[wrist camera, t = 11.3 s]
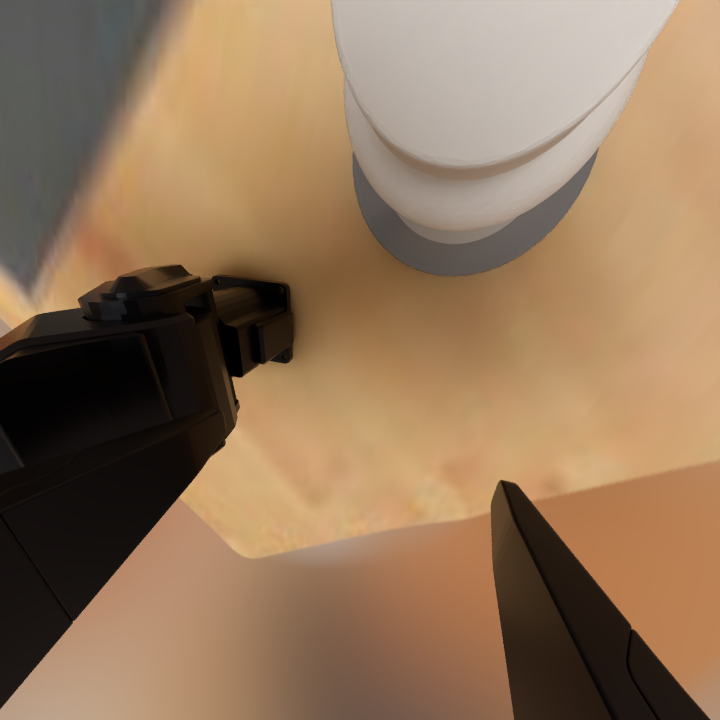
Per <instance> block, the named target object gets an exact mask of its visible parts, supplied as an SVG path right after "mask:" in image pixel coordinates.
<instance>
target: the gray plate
mask: <svg viewBox="0 0 720 720" xmlns="http://www.w3.org/2000/svg"><path fill="white" fill-rule="evenodd" d="M597 152H598V149H597V150H596V152H595V153H594V154H593V155H592V157H591V158H590V159H589V160H588V161H587V162H586V163H585V164H584V165H583V167H582V168H581V169H580V170H579V171H578V172H577V173H576V174H575V175H574V176H573V177H572V178H571V179H570V180H569V181H568V182H567V183H566V184H564V185H563V186H562V187H561V188H560V189H559V190H557V191H556V192H555V193H554V194H552V195H551V196H550V197H548V198H547V199H546V200H544V201H543V202H541V203H540V204H538V205H537V206H535V207H533V208H532V209H530V210H529V211H527V212H525V213H523V214H521V215H519V216H517V217H515V218H512V219H510V220H508V221H505V222H502V223H499V224H496V225H493V226H489V227H485V228H481V229H477V230H471V231H459V232H458V231H444V230H438V229H433V228H429V227H426V226H423V225H420V224H417V223H415V222H413V221H411V220H409V219H407V218H405V217H404V216H402V215H400V214H399V213H398V212H396V211H395V210H393V209H392V208H391V207H390V206H389V205H388V204H387V203H386V202H385V201H384V200H383V199H382V198H381V197H380V196H379V195H378V194H377V193H376V192H375V190H374V189H373V188H372V186H371V185H370V183H369V182H368V180H367V179H366V177H365V175H364V173H363V171H362V169H361V167H360V165H359V163H358V161H357V158H356V156H355V153H354V151H353V177H354V185H355V191H356V195H357V199H358V203H359V206H360V209H361V211H362V214H363V217H364V219H365V221H366V223H367V225H368V227H369V228H370V230H371V231H372V233H373V234H374V236H375V237H376V239H377V240H378V241H379V242H380V244H381V245H382V246H383V247H384V248H385V249H386V250H387V251H388V252H389V253H390V254H392V255H393V256H394V257H395V258H397V259H398V260H400V261H401V262H403V263H404V264H406V265H408V266H410V267H412V268H414V269H417V270H419V271H423V272H426V273H429V274H435V275H441V276H464V275H472V274H477V273H481V272H485V271H488V270H491V269H494V268H497V267H499V266H501V265H503V264H506V263H508V262H510V261H512V260H514V259H515V258H517V257H519V256H520V255H522V254H523V253H525V252H527V251H528V250H529V249H531V248H532V247H533V246H534V245H536V244H537V243H538V242H540V241H541V240H542V239H543V238H544V237H545V236H546V235H547V234H548V233H549V232H550V231H551V230H552V229H553V228H554V227H555V226H556V225H557V224H558V223H559V221H560V220H561V219H562V218H563V217H564V215H565V214H566V213H567V212H568V210H569V209H570V207H571V206H572V204H573V203H574V201H575V200H576V199H577V197H578V195H579V194H580V192H581V190H582V188H583V186H584V184H585V182H586V180H587V179H588V176H589V174H590V171H591V169H592V166H593V164H594V161H595V159H596V156H597Z"/></svg>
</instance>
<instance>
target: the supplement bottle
mask: <svg viewBox="0 0 720 720" xmlns="http://www.w3.org/2000/svg"><path fill="white" fill-rule="evenodd" d="M679 1H680V0H331V7H332V20H333V27H334V33H335V41H336V45H337V50H338V54H339V59H340V62H341V65H342V68H343V71H344V107H345V115H346V122H347V127H348V133H349V137H350V140H351V144H352V147H353V151H354V153H355V156H356V158H357V161H358V163H359V165H360V167H361V169H362V171H363V173H364V175H365V177H366V179H367V180H368V182H369V183H370V185H371V186H372V188H373V189H374V190H375V192H376V193H377V194H378V195H379V196H380V197H381V198H382V199H383V200H384V201H385V202H386V203H387V204H388V205H389V206H390V207H391V208H392V209H393V210H395V211H396V212H398V213H399V214H400V215H402V216H404V217H405V218H407V219H409V220H411V221H413V222H415V223H417V224H420V225H423V226H426V227H429V228H433V229H438V230H444V231H458V232H459V231H471V230H477V229H481V228H485V227H489V226H493V225H496V224H499V223H502V222H505V221H508V220H510V219H512V218H515V217H517V216H519V215H521V214H523V213H525V212H527V211H529V210H530V209H532V208H533V207H535V206H537V205H538V204H540V203H541V202H543V201H544V200H546V199H547V198H548V197H550V196H551V195H552V194H554V193H555V192H556V191H557V190H559V189H560V188H561V187H562V186H563V185H564V184H566V183H567V182H568V181H569V180H570V179H571V178H572V177H573V176H574V175H575V174H576V173H577V172H578V171H579V170H580V169H581V168H582V167H583V165H584V164H585V163H586V162H587V161H588V160H589V159H590V158H591V157H592V155H593V154H594V153H595V152H596V150H597V149H598V148H599V146H600V145H601V144H602V142H603V141H604V140H605V138H606V137H607V135H608V134H609V132H610V131H611V129H612V128H613V126H614V124H615V123H616V121H617V120H618V118H619V117H620V115H621V113H622V112H623V110H624V108H625V106H626V104H627V102H628V100H629V98H630V96H631V94H632V93H633V91H634V88H635V86H636V83H637V81H638V79H639V76H640V74H641V71H642V69H643V66H644V63H645V60H646V57H647V54H648V51H649V48H650V46H651V45H652V44H653V42H654V41H655V39H656V38H657V36H658V35H659V34H660V32H661V31H662V29H663V28H664V26H665V25H666V23H667V21H668V20H669V18H670V16H671V15H672V13H673V11H674V9H675V8H676V6H677V4H678V3H679Z"/></svg>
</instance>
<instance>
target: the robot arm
mask: <svg viewBox="0 0 720 720" xmlns="http://www.w3.org/2000/svg"><path fill="white" fill-rule="evenodd" d="M218 280H219V281H220V284H219V282H218ZM281 287H282V288H283V290H284V292H281V290H280V288H281ZM212 289H213V291H212ZM78 302H79V304H80V307H81V308H76V309H69V310H63V311H56V312H49V313H43V314H39V315H35V316H33V317H31V318H30V319H28V320H27V321H25V322H24V323H22V324H21V325H19V326H18V327H16V328H15V329H13V330H12V331H10V332H9V333H7V334H6V335H4V336H3V337H1V338H0V709H1V708H2V706H3V705H4V704H5V703H6V702H7V701H8V699H9V698H10V697H11V696H12V695H13V693H14V692H15V691H16V690H17V689H18V687H19V686H20V685H21V684H22V683H23V682H24V680H25V679H26V678H27V677H28V676H29V674H30V673H31V672H32V671H33V670H34V668H35V667H36V666H37V665H38V664H39V663H40V661H41V660H42V659H43V658H44V657H45V655H46V654H47V653H48V652H49V651H50V649H51V648H52V647H53V646H54V645H55V644H56V642H57V641H58V640H59V639H60V638H61V636H62V635H63V634H64V633H65V632H66V631H67V629H68V628H69V627H70V626H71V624H72V623H73V621H74V620H75V619H76V618H77V617H78V616H79V615H80V614H81V612H82V611H83V610H84V609H85V608H86V606H87V605H88V604H89V603H90V602H91V601H92V599H93V598H94V597H95V596H96V595H97V593H98V592H99V591H100V590H101V589H102V587H103V586H104V585H105V584H106V583H107V582H108V580H109V579H110V578H111V577H112V576H113V574H114V573H115V572H116V571H117V569H119V567H120V566H121V565H122V564H123V563H124V561H125V560H126V559H127V558H128V557H129V555H130V554H131V553H132V552H133V551H134V549H135V548H136V547H137V545H139V543H140V542H141V541H142V540H143V539H144V538H145V537H146V535H147V534H148V533H149V532H150V531H151V529H152V528H153V527H154V526H155V525H156V523H157V522H158V521H159V520H160V519H161V518H162V516H163V515H164V514H165V513H166V512H167V510H168V509H169V508H170V507H171V505H172V504H173V503H174V502H175V501H176V500H177V499H178V497H179V496H180V495H181V494H182V493H183V491H184V490H185V489H186V488H187V487H188V486H189V484H190V483H191V482H192V481H193V480H194V478H195V477H196V476H197V475H198V473H199V472H200V471H201V469H202V468H203V466H204V465H205V464H206V462H207V461H208V459H209V458H210V457H211V456H213V455H214V454H215V453H217V452H218V451H219V450H221V449H222V448H223V447H224V446H225V444H226V441H225V439H226V438H227V437H228V435H229V434H230V433H231V432H232V430H233V429H234V428H235V425H236V421H237V412H238V410H239V408H240V406H239V401H238V400H237V399H236V395H235V390H234V386H233V381H232V378H233V377H234V376H235V377H243V376H244V375H246V374H247V373H248V372H250V371H251V370H253V369H254V368H256V367H257V366H258V365H260V364H265V363H267V362H268V361H274V362H279V363H288V362H290V361H291V360H292V344H293V325H292V313H291V311H290V292H289V287H288V285H287V284H286V283H282V282H274V281H266V280H258V279H250V278H242V277H234V276H225V275H216V276H213V277H212V279H211V278H200V276H192V274H189V273H188V272H187V271H186V270H185V269H184V268H183V267H182V266H181V265H165V266H157V267H149V268H143V269H139V270H136V271H133V272H130V273H127V274H124V275H121V276H119V277H118V278H117V279H116V280H115V281H108V282H105V283H103V284H101V285H100V286H98V287H96V288H95V289H93V290H91V291H90V292H88V293H86V294H85V295H83V296H81V297H80V298H79V299H78ZM284 355H285V356H286V357H287V359H286V358H285V357H284ZM491 528H492V529H491V532H492V559H493V560H492V561H493V572H494V580H495V587H496V594H497V601H498V608H499V615H500V622H501V629H502V636H503V644H504V651H505V658H506V665H507V672H508V678H509V686H510V693H511V700H512V707H513V714H514V720H710V719H709V718H708V716H707V715H706V714H705V713H704V712H703V711H702V709H701V708H700V707H699V706H698V705H697V704H696V703H695V701H694V700H693V699H692V698H691V697H690V696H689V695H688V694H687V692H686V691H685V690H684V689H683V688H682V686H681V685H680V684H679V683H678V682H677V681H676V679H675V678H674V677H673V676H672V674H671V673H670V672H669V671H668V670H667V668H666V667H665V666H664V665H663V664H662V662H661V661H660V660H659V659H658V658H657V656H656V655H655V654H654V653H653V652H652V650H651V649H650V648H649V647H648V645H647V644H646V643H645V642H644V640H643V639H642V638H641V637H640V635H639V634H638V633H637V632H636V631H635V630H634V629H631V625H630V624H629V622H628V621H627V620H626V618H625V617H624V616H623V615H622V613H621V612H620V611H619V610H618V608H617V607H616V606H615V605H614V604H613V602H612V601H611V600H610V599H609V597H608V596H607V595H606V594H605V592H604V591H603V590H602V589H601V587H600V586H599V585H598V584H597V583H596V581H595V580H594V579H593V578H592V576H591V575H590V574H589V573H588V571H587V570H586V569H585V568H584V566H583V565H582V564H581V563H580V562H579V560H578V559H577V558H576V557H575V555H574V554H573V553H572V552H571V551H570V549H569V548H568V547H567V546H566V544H565V543H564V542H563V541H562V539H561V538H560V537H559V536H558V535H557V533H556V532H555V531H554V530H553V528H552V527H551V526H550V524H549V523H548V522H547V521H546V520H545V518H544V517H543V516H542V515H541V513H540V512H539V511H538V510H537V508H536V507H535V506H534V505H533V504H532V502H531V501H530V500H529V499H528V497H527V496H526V495H525V494H524V492H523V491H522V490H521V489H520V487H519V486H518V485H517V484H515V483H513V482H508V481H504V480H500V481H499V482H498V485H497V487H496V490H495V493H494V496H493V498H492V502H491Z"/></svg>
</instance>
